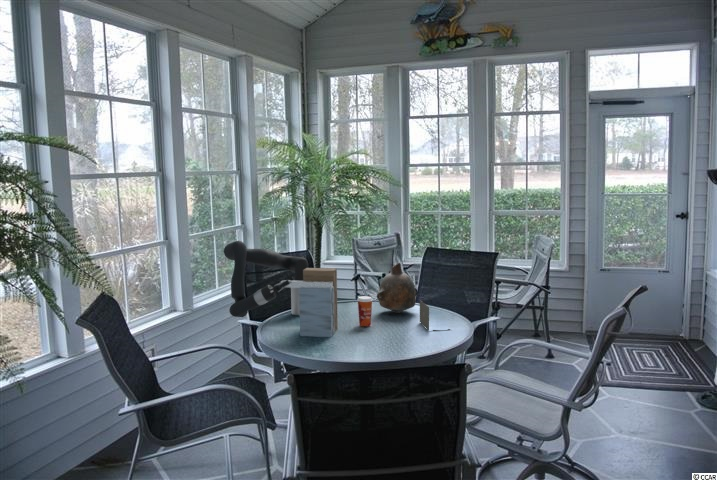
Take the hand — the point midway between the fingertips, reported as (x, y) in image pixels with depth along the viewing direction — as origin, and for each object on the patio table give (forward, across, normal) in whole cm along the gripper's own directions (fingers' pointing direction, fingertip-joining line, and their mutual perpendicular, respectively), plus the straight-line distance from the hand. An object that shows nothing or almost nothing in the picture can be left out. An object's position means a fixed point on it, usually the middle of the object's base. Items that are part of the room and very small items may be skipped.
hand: (291, 280), depth 288 cm
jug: (+28, +50, +48) cm, 75 cm away
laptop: (+48, +24, +60) cm, 80 cm away
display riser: (-2, +4, +30) cm, 31 cm away
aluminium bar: (+5, 0, +7) cm, 9 cm away
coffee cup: (+16, +21, +41) cm, 49 cm away
